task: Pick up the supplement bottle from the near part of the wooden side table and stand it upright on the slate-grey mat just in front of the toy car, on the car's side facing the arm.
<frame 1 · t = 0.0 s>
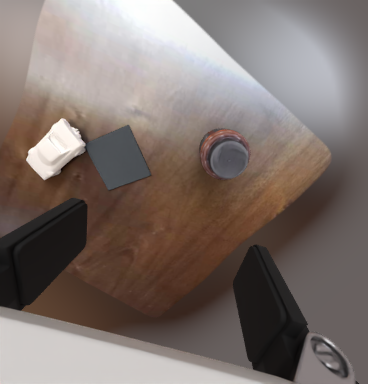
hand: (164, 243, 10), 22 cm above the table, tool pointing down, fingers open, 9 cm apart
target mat: (118, 159, 31), on the table
supplement bottle: (217, 147, 29), on the table
toy car: (62, 150, 31), on the table, touching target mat
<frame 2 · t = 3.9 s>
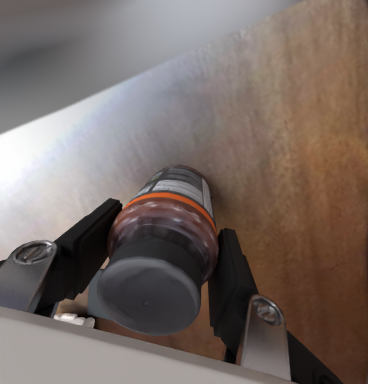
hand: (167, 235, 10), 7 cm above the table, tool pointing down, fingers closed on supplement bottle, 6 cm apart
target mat: (122, 299, 23), on the table
supplement bottle: (179, 192, 17), on the table, touching gripper
toy car: (84, 330, 26), on the table, touching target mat
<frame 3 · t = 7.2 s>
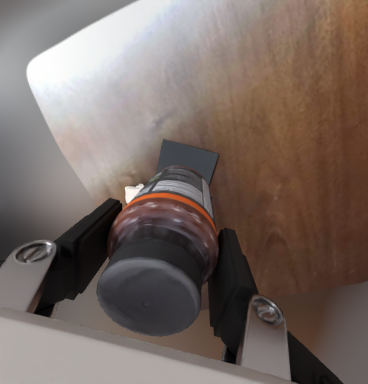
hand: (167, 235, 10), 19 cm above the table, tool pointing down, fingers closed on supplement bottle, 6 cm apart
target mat: (184, 173, 29), on the table
supplement bottle: (179, 192, 17), point 12 cm above the table, touching gripper
toy car: (146, 211, 32), on the table, touching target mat
when the fingers open (7 cm above the table, at t = 10.4 s): supplement bottle stays where it is, resting on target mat.
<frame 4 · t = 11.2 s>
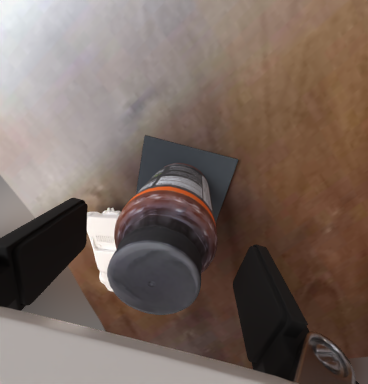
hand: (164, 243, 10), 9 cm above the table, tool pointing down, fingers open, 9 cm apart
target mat: (180, 190, 18), on the table
supplement bottle: (180, 189, 18), resting on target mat
toy car: (124, 246, 21), on the table, touching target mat
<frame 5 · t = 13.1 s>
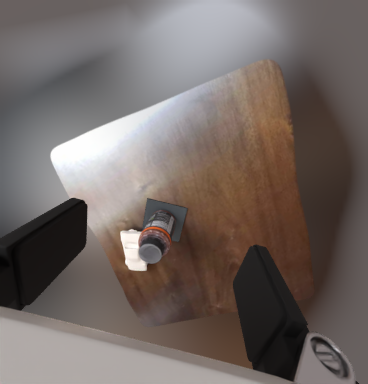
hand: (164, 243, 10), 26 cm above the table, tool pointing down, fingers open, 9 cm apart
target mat: (163, 220, 39), on the table
supplement bottle: (163, 220, 39), resting on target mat
toy car: (137, 246, 43), on the table, touching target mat
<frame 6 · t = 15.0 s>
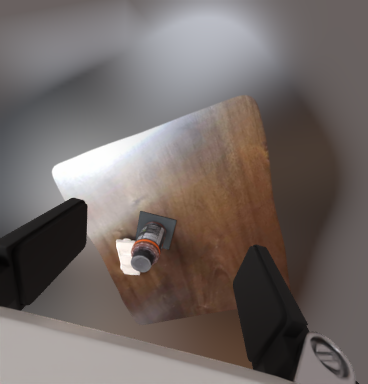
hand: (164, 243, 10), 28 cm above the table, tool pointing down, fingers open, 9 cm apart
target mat: (155, 230, 43), on the table
supplement bottle: (155, 230, 43), resting on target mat
toy car: (131, 253, 47), on the table, touching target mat
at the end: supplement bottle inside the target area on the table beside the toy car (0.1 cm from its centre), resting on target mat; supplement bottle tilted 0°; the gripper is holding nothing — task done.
